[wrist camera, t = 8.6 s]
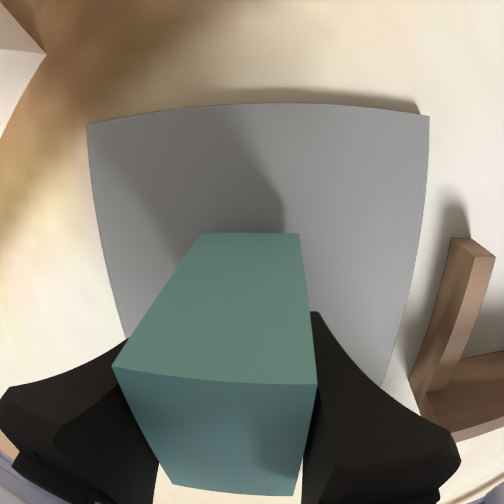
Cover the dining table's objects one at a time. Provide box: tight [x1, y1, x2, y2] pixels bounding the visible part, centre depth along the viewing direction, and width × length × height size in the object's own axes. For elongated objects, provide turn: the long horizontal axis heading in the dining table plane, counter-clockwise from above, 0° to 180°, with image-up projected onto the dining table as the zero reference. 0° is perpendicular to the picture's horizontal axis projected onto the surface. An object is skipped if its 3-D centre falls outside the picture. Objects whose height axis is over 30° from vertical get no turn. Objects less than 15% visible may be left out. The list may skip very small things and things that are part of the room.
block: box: [112, 233, 317, 496], centre depth 10 cm, size 6×4×8 cm, turn 1°
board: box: [86, 103, 429, 387], centre depth 15 cm, size 16×16×1 cm
